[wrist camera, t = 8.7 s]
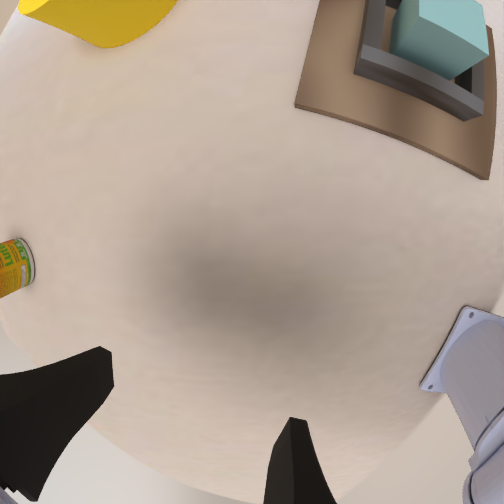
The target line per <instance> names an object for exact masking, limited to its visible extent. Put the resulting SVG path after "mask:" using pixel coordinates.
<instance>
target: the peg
mask: <svg viewBox="0 0 504 504" xmlns="http://www.w3.org/2000/svg"><path fill="white" fill-rule="evenodd" d="M389 53H390V54H393V55H395V56H398V57H400V58H403V59H405V60H407V61H410V62H412V63H414V64H417V65H419V66H421V67H423V68H425V69H427V70H429V71H432V72H434V73H436V74H438V75H440V76H441V77H443V78H445V79H447V80H449V81H450V80H452V79H453V78H455V77H456V76H458V75H459V74H461V73H462V72H464V71H465V70H467V69H469V68H470V67H472V66H473V65H475V64H476V63H478V62H479V61H481V60H483V59H484V58H486V57H487V56H489V49H488V39H487V31H486V24H485V18H484V13H483V7H482V5H481V4H479V3H478V2H476V1H474V0H402V2H401V4H400V6H399V8H398V9H397V11H396V13H395V15H394V17H393V20H392V31H391V40H390V49H389Z"/></svg>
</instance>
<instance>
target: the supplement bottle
mask: <svg viewBox="0 0 504 504" xmlns="http://www.w3.org/2000/svg"><path fill="white" fill-rule="evenodd" d="M33 278H34V262H33V258H32V254H31V252H30V249H29V247H28V246H27V244H26V243H25V242H24V241H23V240H22V239H19V238H17V239H13V240H9V241H6V242H3V243H0V298H2V297H4V296H6V295H8V294H10V293H12V292H14V291H16V290H18V289H21V288H23V287H25V286H27V285H29V284H30V283H31V282H32V281H33Z"/></svg>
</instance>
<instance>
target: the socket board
mask: <svg viewBox="0 0 504 504" xmlns="http://www.w3.org/2000/svg"><path fill="white" fill-rule="evenodd" d="M401 2H402V0H320V2H319V6H318V10H317V14H316V18H315V22H314V27H313V31H312V35H311V39H310V43H309V47H308V51H307V55H306V59H305V63H304V67H303V71H302V75H301V79H300V83H299V87H298V91H297V95H296V99H295V108H299V109H304V110H308V111H312V112H315V113H319V114H323V115H326V116H330V117H333V118H337V119H340V120H343V121H347V122H350V123H353V124H356V125H359V126H362V127H365V128H368V129H371V130H374V131H376V132H379V133H382V134H385V135H387V136H390V137H392V138H395V139H398V140H400V141H403V142H405V143H407V144H410V145H412V146H415V147H417V148H419V149H421V150H424V151H426V152H428V153H430V154H432V155H435V156H437V157H439V158H441V159H443V160H445V161H447V162H449V163H451V164H453V165H455V166H457V167H459V168H461V169H463V170H464V171H466V172H468V173H470V174H472V175H474V176H475V177H477V178H479V179H481V180H489V176H490V170H491V163H492V156H493V148H494V139H495V127H496V107H497V81H496V62H495V50H494V42H493V34H492V28H490V27H489V26H487V25H486V31H487V39H488V49H489V56H487V57H486V58H484V59H483V60H481V61H479V62H478V63H476V64H475V65H473V66H472V67H470V68H469V69H467V70H465V71H464V72H462V73H461V74H459V75H458V76H456V77H455V78H453V79H452V80H450V81H449V80H447V79H445V78H443V77H441V76H440V75H438V74H436V73H434V72H432V71H429V70H427V69H425V68H423V67H421V66H419V65H417V64H414V63H412V62H410V61H407V60H405V59H403V58H400V57H398V56H395V55H393V54H390V53H389V49H390V40H391V31H392V20H393V17H394V15H395V13H396V11H397V9H398V8H399V6H400V4H401Z"/></svg>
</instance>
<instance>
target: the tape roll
mask: <svg viewBox="0 0 504 504" xmlns="http://www.w3.org/2000/svg"><path fill="white" fill-rule="evenodd" d="M176 2H177V0H20V1H19V5H18V10H19V13H20V14H23V15H26V16H28V17H31V18H34V19H36V20H39V21H42V22H44V23H47V24H49V25H52V26H54V27H56V28H59V29H61V30H63V31H66V32H68V33H70V34H72V35H74V36H77V37H79V38H81V39H83V40H85V41H87V42H89V43H91V44H93V45H95V46H98V47H101V48H113V47H118V46H121V45H124V44H126V43H129V42H131V41H133V40H135V39H136V38H138V37H140V36H141V35H143V34H144V33H146V32H147V31H149V30H150V29H151V28H153V27H154V26H155V25H156V24H158V23H159V22H160V21H161V20H162V19H163V18H164V17H165V16H166V15H167V14H168V13H169V11H170V10H171V9H172V8H173V6H174V5H175V4H176Z"/></svg>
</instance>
